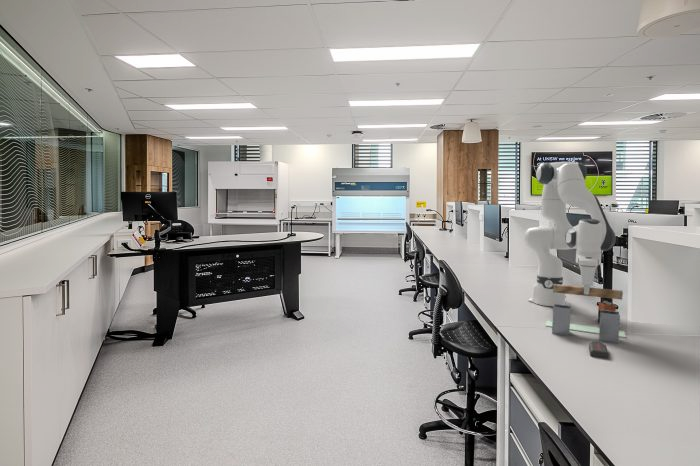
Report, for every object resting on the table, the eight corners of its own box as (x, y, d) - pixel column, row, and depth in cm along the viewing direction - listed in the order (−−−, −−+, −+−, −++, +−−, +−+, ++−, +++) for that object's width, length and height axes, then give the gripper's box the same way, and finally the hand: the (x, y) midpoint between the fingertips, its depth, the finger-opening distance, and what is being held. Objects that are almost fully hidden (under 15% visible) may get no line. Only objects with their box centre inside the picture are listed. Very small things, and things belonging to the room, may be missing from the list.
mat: (547, 321, 180) (547, 320, 180) (624, 332, 166) (624, 331, 166) (545, 326, 173) (545, 325, 173) (625, 337, 159) (625, 336, 159)
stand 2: (598, 336, 161) (600, 309, 160) (617, 338, 158) (618, 311, 157) (599, 340, 156) (600, 313, 155) (618, 343, 153) (619, 315, 152)
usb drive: (590, 357, 140) (590, 349, 139) (588, 346, 150) (588, 338, 150) (608, 360, 137) (609, 352, 137) (604, 348, 148) (605, 341, 148)
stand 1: (552, 329, 169) (554, 303, 168) (569, 331, 166) (571, 305, 165) (551, 333, 164) (553, 307, 163) (569, 335, 161) (570, 309, 160)
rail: (552, 292, 173) (553, 285, 173) (553, 291, 175) (553, 283, 175) (622, 299, 161) (622, 291, 161) (621, 298, 164) (622, 290, 163)
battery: (603, 326, 173) (604, 303, 172) (597, 322, 180) (598, 299, 179) (614, 327, 172) (616, 304, 171) (608, 323, 179) (609, 300, 178)
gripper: (579, 256, 178) (577, 288, 179) (578, 261, 160) (577, 296, 161) (596, 257, 175) (594, 289, 176) (598, 262, 157) (595, 298, 158)
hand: (586, 293), depth 168 cm, fingers closed on rail, 3 cm apart
